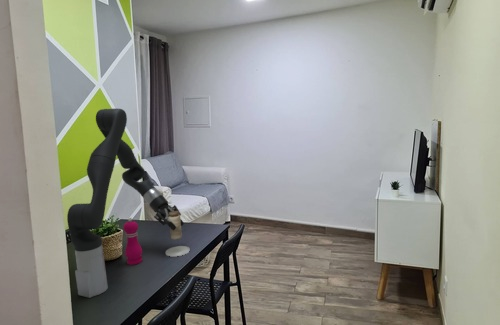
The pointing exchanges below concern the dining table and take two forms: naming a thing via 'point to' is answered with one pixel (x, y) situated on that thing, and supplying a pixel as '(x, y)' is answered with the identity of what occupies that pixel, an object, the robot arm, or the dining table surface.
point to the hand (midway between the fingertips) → (178, 227)
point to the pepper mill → (132, 243)
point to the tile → (177, 251)
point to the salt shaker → (176, 221)
